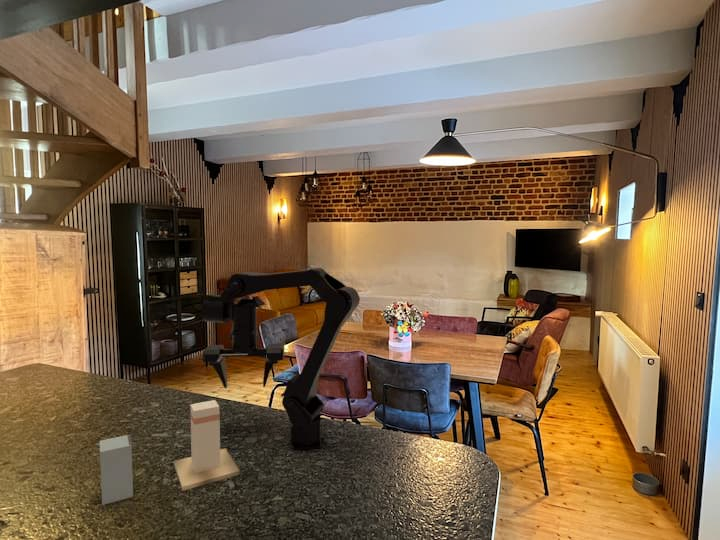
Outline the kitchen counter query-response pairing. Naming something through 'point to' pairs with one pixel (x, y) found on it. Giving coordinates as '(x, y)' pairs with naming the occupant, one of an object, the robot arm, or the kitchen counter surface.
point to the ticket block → (116, 469)
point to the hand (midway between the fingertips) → (245, 387)
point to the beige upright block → (205, 435)
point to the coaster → (193, 479)
